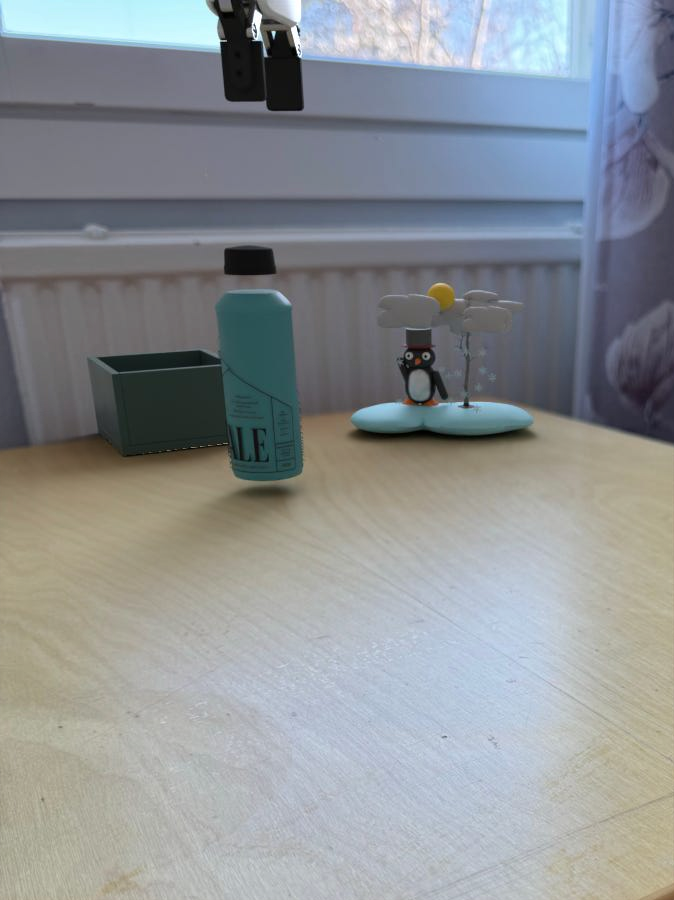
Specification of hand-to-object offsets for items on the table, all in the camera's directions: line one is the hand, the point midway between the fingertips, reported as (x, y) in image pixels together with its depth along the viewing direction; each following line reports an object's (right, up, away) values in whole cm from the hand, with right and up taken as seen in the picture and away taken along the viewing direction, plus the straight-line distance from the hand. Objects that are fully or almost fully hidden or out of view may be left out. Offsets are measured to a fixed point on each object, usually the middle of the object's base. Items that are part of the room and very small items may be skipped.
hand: (267, 106), depth 81 cm
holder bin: (-15, -22, +25) cm, 37 cm away
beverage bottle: (-1, -30, +7) cm, 31 cm away
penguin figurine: (+13, -21, +29) cm, 38 cm away
